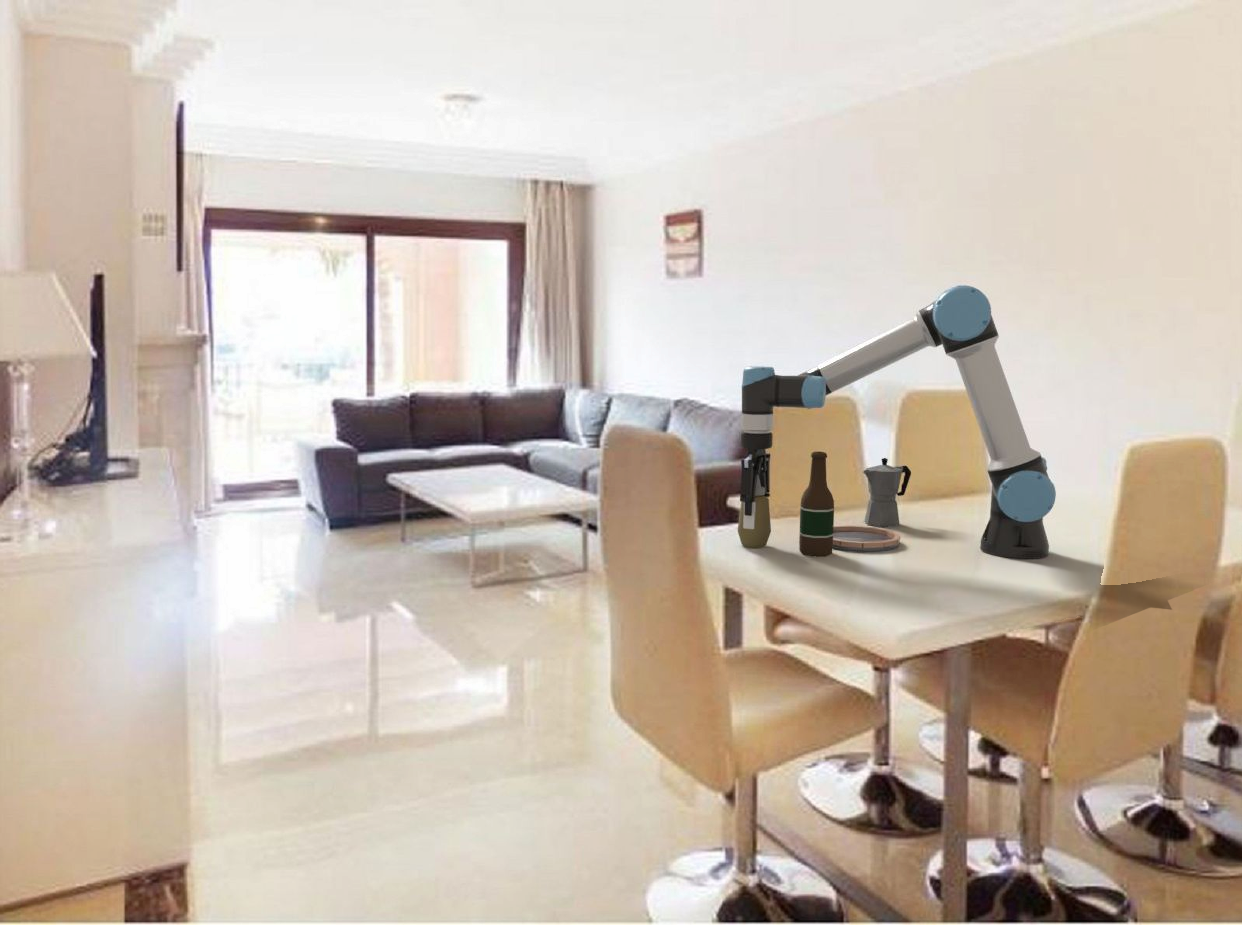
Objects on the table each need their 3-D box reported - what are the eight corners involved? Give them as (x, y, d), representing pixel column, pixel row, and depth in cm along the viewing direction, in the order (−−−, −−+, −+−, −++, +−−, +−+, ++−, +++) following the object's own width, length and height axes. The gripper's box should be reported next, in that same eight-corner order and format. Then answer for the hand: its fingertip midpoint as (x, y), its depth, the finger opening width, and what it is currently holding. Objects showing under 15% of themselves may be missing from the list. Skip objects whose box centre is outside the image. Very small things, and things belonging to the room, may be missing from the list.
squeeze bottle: (774, 544, 238) (776, 471, 235) (765, 551, 230) (767, 476, 228) (743, 540, 241) (744, 469, 238) (732, 547, 234) (734, 473, 231)
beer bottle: (812, 558, 223) (816, 455, 220) (792, 551, 230) (795, 451, 227) (839, 554, 227) (843, 453, 223) (818, 548, 234) (821, 449, 230)
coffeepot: (872, 529, 256) (875, 461, 253) (851, 522, 264) (853, 457, 262) (919, 524, 262) (922, 458, 259) (896, 518, 270) (899, 454, 268)
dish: (915, 544, 238) (916, 535, 238) (864, 555, 226) (865, 546, 226) (849, 530, 254) (850, 522, 253) (799, 540, 241) (799, 532, 241)
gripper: (756, 426, 242) (753, 517, 245) (726, 434, 225) (724, 531, 228) (785, 428, 238) (782, 520, 242) (757, 436, 221) (754, 535, 225)
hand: (754, 525), depth 235 cm, fingers closed on squeeze bottle, 6 cm apart
